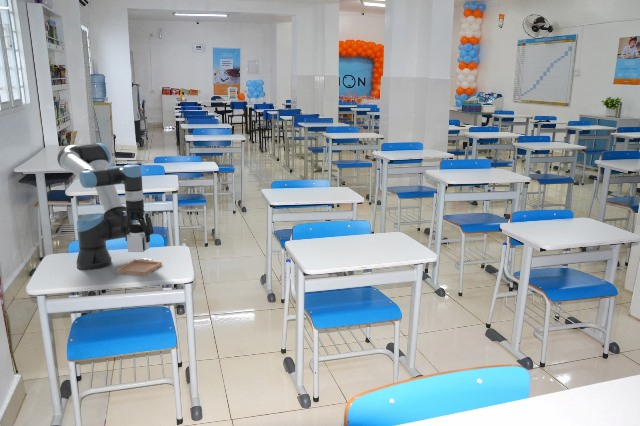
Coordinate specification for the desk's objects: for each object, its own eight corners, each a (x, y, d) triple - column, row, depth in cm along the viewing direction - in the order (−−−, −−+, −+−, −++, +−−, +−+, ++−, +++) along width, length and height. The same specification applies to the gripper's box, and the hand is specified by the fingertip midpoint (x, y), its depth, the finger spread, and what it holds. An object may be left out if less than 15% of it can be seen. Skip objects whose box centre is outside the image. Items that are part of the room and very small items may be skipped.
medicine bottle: (143, 252, 236) (141, 226, 233) (127, 252, 236) (125, 226, 233) (149, 247, 242) (147, 222, 240) (133, 247, 243) (131, 222, 240)
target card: (135, 262, 250) (135, 260, 250) (141, 258, 255) (141, 257, 255) (147, 263, 249) (147, 261, 249) (152, 259, 254) (152, 258, 254)
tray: (117, 272, 236) (116, 269, 236) (134, 262, 250) (134, 259, 249) (145, 275, 233) (145, 272, 233) (161, 265, 247) (161, 261, 246)
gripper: (108, 200, 232) (113, 249, 238) (151, 202, 228) (154, 252, 233) (118, 196, 239) (122, 244, 245) (159, 199, 235) (163, 247, 240)
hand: (138, 248), depth 239 cm, fingers closed on medicine bottle, 8 cm apart
